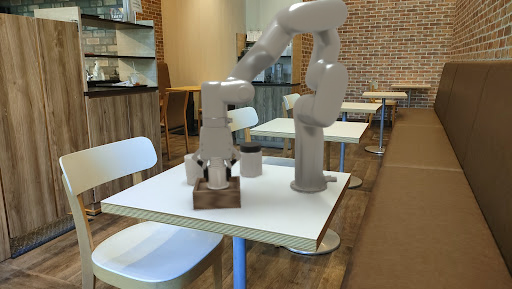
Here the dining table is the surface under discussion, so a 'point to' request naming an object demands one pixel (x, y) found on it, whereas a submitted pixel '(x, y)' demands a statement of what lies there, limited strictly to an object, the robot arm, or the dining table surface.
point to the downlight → (217, 174)
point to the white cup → (192, 169)
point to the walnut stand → (216, 195)
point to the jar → (250, 159)
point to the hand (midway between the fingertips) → (217, 179)
